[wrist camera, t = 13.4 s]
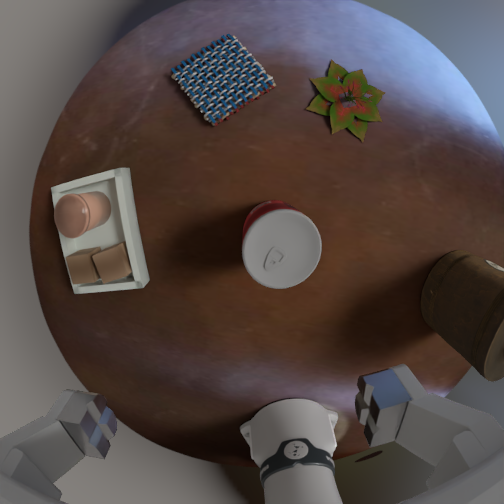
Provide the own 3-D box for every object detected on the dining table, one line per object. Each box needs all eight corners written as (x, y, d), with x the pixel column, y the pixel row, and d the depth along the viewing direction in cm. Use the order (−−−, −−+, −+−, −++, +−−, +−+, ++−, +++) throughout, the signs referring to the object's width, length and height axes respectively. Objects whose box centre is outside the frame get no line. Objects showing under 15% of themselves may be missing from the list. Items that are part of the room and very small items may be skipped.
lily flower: (324, 48, 32) (333, 35, 27) (394, 91, 33) (410, 84, 29) (289, 114, 34) (295, 106, 30) (365, 157, 36) (380, 156, 32)
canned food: (235, 248, 39) (231, 276, 28) (254, 191, 37) (258, 197, 26) (288, 265, 39) (303, 299, 29) (309, 210, 37) (334, 225, 27)
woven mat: (213, 131, 35) (211, 129, 33) (169, 75, 33) (166, 71, 31) (278, 88, 34) (280, 84, 32) (232, 35, 31) (232, 29, 29)
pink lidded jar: (109, 185, 35) (83, 189, 28) (115, 224, 37) (91, 234, 30) (78, 193, 35) (51, 198, 29) (85, 230, 37) (58, 241, 30)
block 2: (137, 266, 38) (127, 276, 34) (114, 273, 38) (103, 283, 35) (127, 239, 37) (115, 247, 33) (104, 248, 37) (91, 256, 34)
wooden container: (482, 297, 42) (555, 349, 21) (429, 341, 44) (494, 415, 23) (470, 233, 39) (565, 273, 18) (409, 280, 41) (500, 352, 19)
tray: (149, 280, 39) (143, 287, 37) (83, 286, 40) (74, 293, 37) (129, 168, 35) (120, 167, 32) (62, 186, 35) (51, 187, 32)
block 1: (106, 272, 38) (94, 282, 35) (85, 275, 38) (72, 284, 35) (100, 246, 37) (87, 253, 34) (79, 249, 37) (65, 257, 34)
